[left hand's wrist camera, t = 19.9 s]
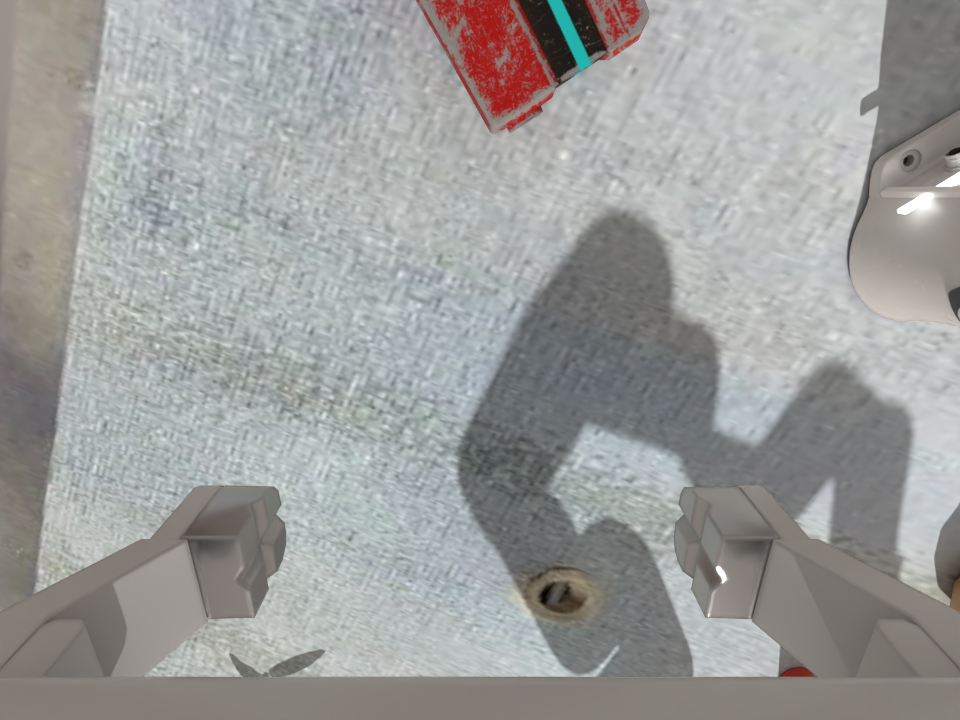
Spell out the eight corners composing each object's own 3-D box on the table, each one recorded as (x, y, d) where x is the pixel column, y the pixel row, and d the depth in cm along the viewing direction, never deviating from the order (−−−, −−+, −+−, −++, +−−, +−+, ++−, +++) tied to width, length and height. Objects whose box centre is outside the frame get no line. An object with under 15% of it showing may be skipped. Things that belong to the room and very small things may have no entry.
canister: (818, 681, 65) (843, 718, 61) (786, 696, 66) (808, 733, 61) (804, 662, 64) (828, 699, 59) (772, 677, 65) (793, 714, 60)
